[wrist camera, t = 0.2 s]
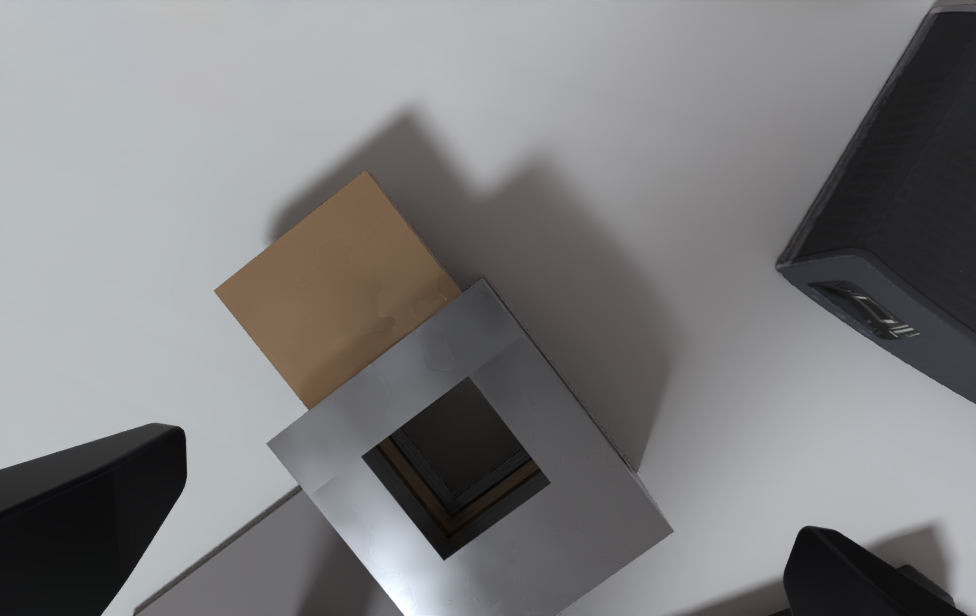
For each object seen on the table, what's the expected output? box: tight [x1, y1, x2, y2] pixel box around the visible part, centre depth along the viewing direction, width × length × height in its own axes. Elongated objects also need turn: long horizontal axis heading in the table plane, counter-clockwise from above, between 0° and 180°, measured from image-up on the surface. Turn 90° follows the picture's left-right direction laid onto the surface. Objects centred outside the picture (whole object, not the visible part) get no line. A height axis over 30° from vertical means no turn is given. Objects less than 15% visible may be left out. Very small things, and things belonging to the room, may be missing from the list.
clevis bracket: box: [214, 170, 674, 616], centre depth 21 cm, size 16×9×5 cm, turn 37°
